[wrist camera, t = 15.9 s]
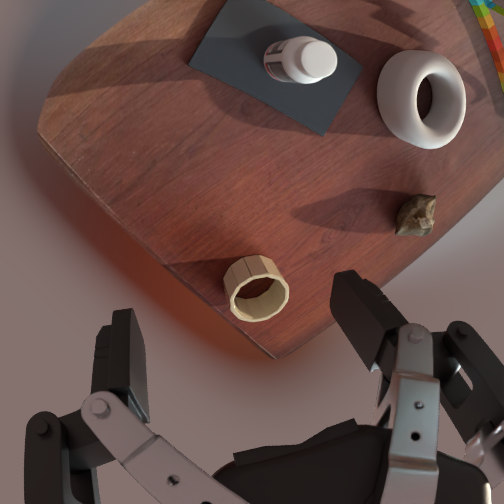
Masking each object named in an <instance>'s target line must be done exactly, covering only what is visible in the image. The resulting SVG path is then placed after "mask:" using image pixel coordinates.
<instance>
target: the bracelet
mask: <svg viewBox="0 0 504 504" xmlns="http://www.w3.org/2000/svg"><path fill="white" fill-rule="evenodd" d="M263 277H270V278H273V279H274V282H273V283H272V285H271V287H270V288H269V290H268V291H266V292H265V293H263V294H262V295H260V296H259V297H255V298H250V299H243V298H239V297H235V296H236V294H237V293H238V291H239V289H240V288H241V287H242V286H243V285H245V284H247V283H248V282H250V281H251V280H253V279H258V278H263ZM223 282H224V291H225V294H226V297H227V300H228V303H229V306H230V309H231V311H232V312H233V313H234V314H235V315H236V316H237V317H238V318H239V319H240V320H245V321H249V322H257V321H262V320H267V319H269V318H271V317H272V316H274V315H275V314H277V313H278V312H280V311H281V310H282V308H283V307H284V305H285V304H286V302H287V301H288V296H289V286H288V285H287V283H286V281H285V279H284V278H283V276H282V274H281V273H280V271H279V269H278V268H277V266H276V265H275V263H274V262H273V261H272V260H271V259H269V258H266V257H264V256H261V255H259V256H258V255H253V256H247V257H244V259H243V258H241V259H240V260H238V261H237V262H235V263H234V264H232V265H231V267H229V269H228V271H227V272H226V274H225V276H224V279H223Z"/></svg>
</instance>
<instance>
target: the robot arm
mask: <svg viewBox="0 0 504 504" xmlns="http://www.w3.org/2000/svg"><path fill="white" fill-rule="evenodd" d="M330 309H331V313H332V315H333V317H334V318H335V320H336V321H337V323H338V324H339V326H340V327H341V329H342V330H343V332H344V333H345V335H346V336H347V338H348V339H349V341H350V342H351V344H352V345H353V347H354V349H355V350H356V352H357V353H358V355H359V356H360V358H361V359H362V361H363V362H364V364H365V365H366V367H367V368H368V370H369V372H371V371H373V370H376V369H379V368H380V370H381V371H382V373H381V375H380V380H379V386H378V392H377V398H376V404H375V409H374V414H373V417H372V420H371V422H370V425H357V423H356V421H355V419H354V418H353V419H350V420H348V421H345V422H342V423H339V424H336V425H333V426H331V427H328V428H326V429H324V430H323V431H321V432H319V433H318V434H316V435H314V436H313V437H311V438H309V439H308V440H306V441H304V442H303V443H301V444H297V445H284V446H283V445H281V446H263V447H259V448H255V449H250V450H246V451H241V452H237V453H233V456H234V461H232V462H230V463H228V464H226V465H224V466H223V467H221V468H220V469H219V470H217V471H216V472H215V473H214V474H213V475H212V476H209V474H207V473H206V472H205V471H203V470H202V469H201V468H199V467H198V466H197V465H196V464H194V463H193V462H192V461H191V460H189V459H188V458H187V457H186V456H184V455H183V454H182V453H181V452H179V451H178V450H177V449H176V448H175V447H173V446H172V445H171V444H170V443H169V442H168V441H167V440H165V439H164V438H163V437H162V436H160V435H156V434H155V433H153V432H152V431H151V430H150V429H149V428H148V427H147V426H146V425H145V423H150V417H149V405H148V392H147V377H146V376H147V375H146V353H145V345H144V340H143V336H142V334H141V331H140V328H139V325H138V322H137V319H136V316H135V313H134V310H133V309H132V308H129V309H122V310H116V311H113V316H112V325H107V326H103V327H102V328H101V330H100V331H99V333H98V335H97V336H96V345H95V354H94V358H95V359H94V363H93V373H92V385H91V394H90V395H89V396H88V397H87V398H86V399H85V400H84V402H83V404H82V407H81V409H79V410H77V411H75V412H73V413H70V414H68V415H65V416H62V417H59V418H58V417H57V416H56V415H55V414H53V413H51V412H47V411H44V412H39V413H37V414H35V415H34V416H33V417H32V418H31V419H30V420H29V422H28V424H27V427H26V438H25V455H24V500H25V504H101V502H100V495H99V488H98V479H97V470H96V467H97V466H100V465H103V464H106V463H108V462H111V461H113V460H116V459H117V460H118V461H119V463H120V464H121V465H122V466H123V467H124V469H125V470H126V471H127V472H128V473H129V474H130V475H131V476H132V477H133V478H134V479H135V480H136V481H137V482H138V483H139V484H140V485H141V486H142V487H143V488H144V489H145V490H146V491H147V492H148V493H149V494H151V495H152V496H153V497H154V498H155V499H156V500H157V501H158V502H159V503H160V504H491V490H492V489H493V488H495V487H496V486H497V485H498V484H500V483H501V482H502V481H503V480H504V365H503V364H502V363H501V362H500V360H499V359H498V358H497V356H496V355H495V354H494V353H493V351H492V350H491V349H490V348H489V346H488V345H487V344H486V343H485V342H484V340H483V339H482V338H481V337H480V336H479V334H478V333H477V332H476V331H475V330H474V329H473V327H471V326H470V325H469V324H467V323H465V322H463V321H454V322H452V323H450V324H449V326H448V328H447V330H446V331H444V332H430V331H429V330H428V329H426V328H425V327H424V326H422V325H420V324H416V323H409V322H408V321H407V320H406V319H405V318H404V316H403V315H402V314H401V313H400V312H399V311H398V310H397V308H396V307H395V306H394V305H393V304H392V303H391V301H389V300H388V298H387V297H386V296H385V295H383V292H382V291H381V290H380V289H379V288H378V287H377V286H376V285H375V284H373V283H372V282H370V281H368V280H367V279H362V278H361V277H360V276H359V275H358V274H357V272H356V271H355V270H348V271H343V272H338V273H336V274H335V275H334V279H333V286H332V292H331V298H330ZM460 367H462V368H463V370H464V371H465V373H466V374H467V375H468V377H469V378H470V380H471V381H472V384H473V390H471V389H470V388H469V386H468V385H467V383H466V382H465V380H464V379H463V377H462V376H461V375H460V373H459V372H458V370H459V368H460ZM440 403H441V404H442V406H443V407H444V409H445V411H446V412H447V414H448V415H449V417H450V419H451V420H452V422H453V424H454V425H455V427H456V429H457V430H458V432H459V434H460V435H461V437H462V439H463V441H464V442H465V444H466V448H465V453H466V455H465V456H464V461H463V460H460V459H458V458H455V457H452V456H450V455H447V454H445V453H442V452H440V451H437V443H438V430H439V409H440V408H439V407H440Z"/></svg>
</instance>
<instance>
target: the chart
mask: <svg viewBox="0 0 504 504" xmlns="http://www.w3.org/2000/svg"><path fill="white" fill-rule="evenodd" d="M469 1H470V3H471V5H472V8H473V10H474V12H475V14H476V17H477V19H478V21H479V24H480V26H481V28H482V31H483V33H484V36H485V38H486V41H487V44H488V46H489V49H490V52H491V54H492V57H493V60H494V63H495V66H496V69H497V72H498V76H499V79H500V82H501V86H502V89H503V93H504V49H503V46H502V43H501V40H500V37H499V35H498V32H497V29H496V27H495V25H494V22H493V19H492V17H491V15H490V12H489V10H488V8H490V9H492V10H494V11H496V12H497V13H499V14H501V15H503V16H504V9H503V8H501V7H500V6H498V5H496V4H494V3H492V0H469Z"/></svg>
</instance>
